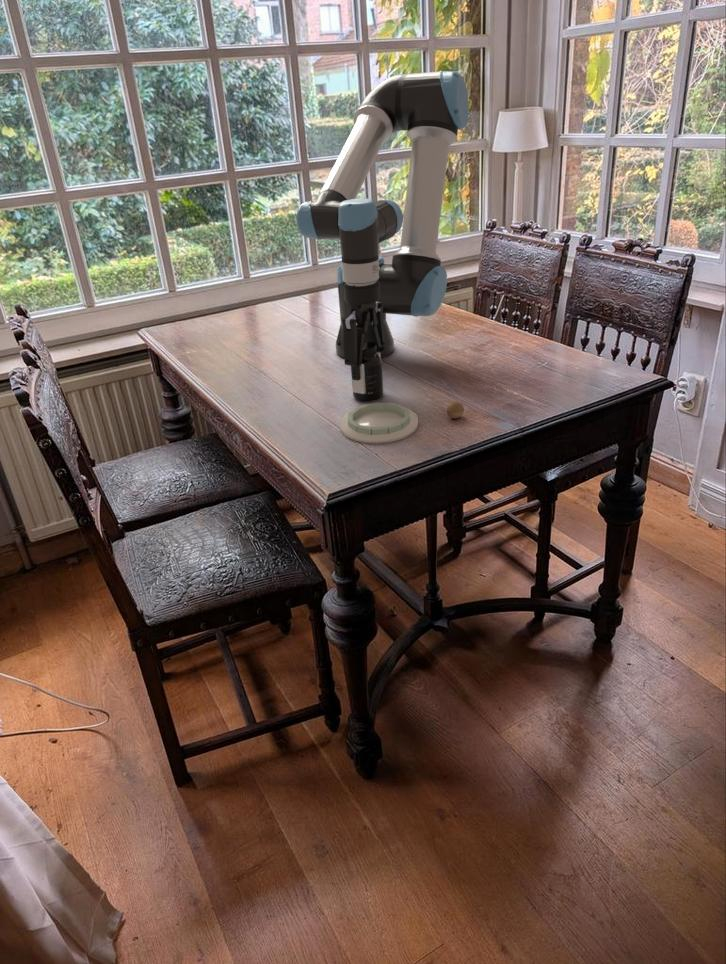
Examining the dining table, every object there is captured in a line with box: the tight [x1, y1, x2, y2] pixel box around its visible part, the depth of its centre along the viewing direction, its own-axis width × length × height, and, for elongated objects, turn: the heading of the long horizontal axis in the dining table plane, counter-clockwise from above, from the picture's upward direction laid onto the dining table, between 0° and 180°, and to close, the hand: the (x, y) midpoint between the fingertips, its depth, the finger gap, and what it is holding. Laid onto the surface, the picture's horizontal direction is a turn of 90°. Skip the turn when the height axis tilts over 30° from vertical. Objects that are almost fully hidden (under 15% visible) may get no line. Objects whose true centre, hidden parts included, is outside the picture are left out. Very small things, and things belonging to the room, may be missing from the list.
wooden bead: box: [446, 401, 465, 420], centre depth 139 cm, size 4×4×4 cm
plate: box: [339, 402, 419, 444], centre depth 138 cm, size 16×16×2 cm
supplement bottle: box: [350, 342, 384, 403], centre depth 149 cm, size 7×7×12 cm
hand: (367, 385), depth 151 cm, fingers closed on supplement bottle, 7 cm apart
